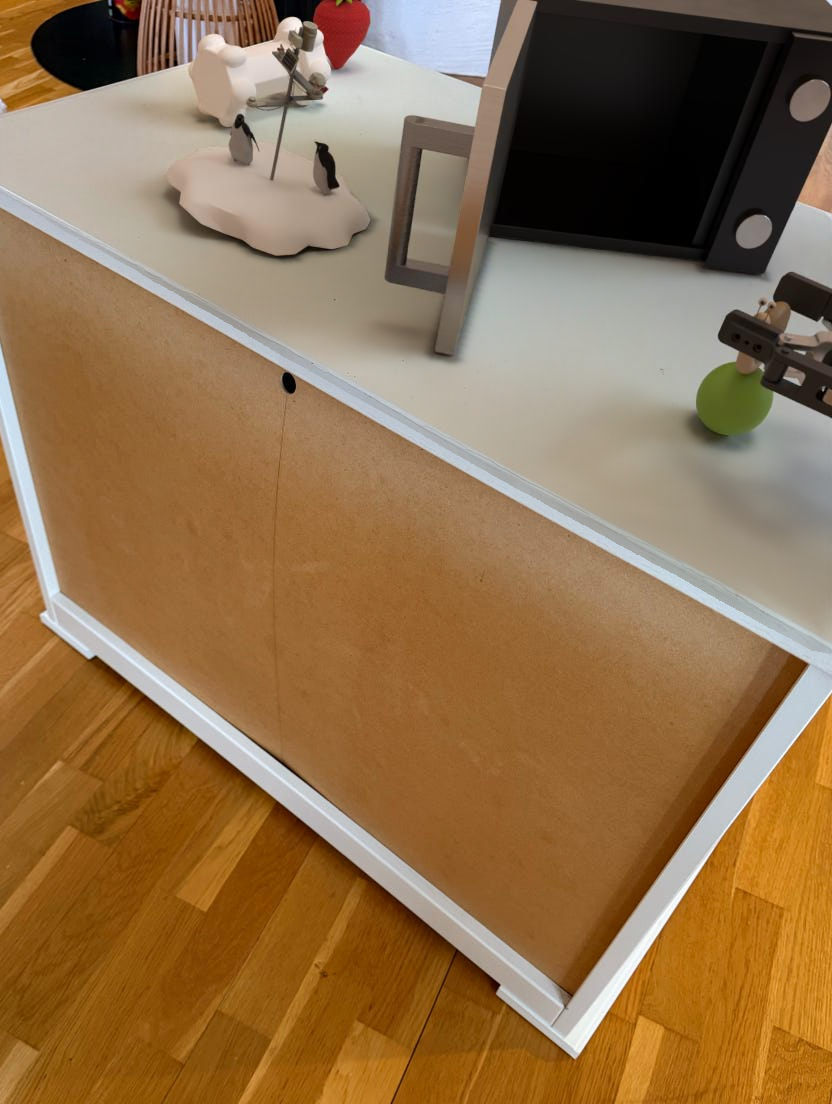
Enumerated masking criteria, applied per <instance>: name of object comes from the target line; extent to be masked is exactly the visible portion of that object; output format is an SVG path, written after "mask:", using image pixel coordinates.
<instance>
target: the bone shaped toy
mask: <svg viewBox="0 0 832 1104" xmlns="http://www.w3.org/2000/svg"><path fill="white" fill-rule="evenodd" d="M300 27H303V22H302V21H301V19H300V18H298V17H295V16H290V17H286V18H284V19H283V20H282V21H280V22H279V24H278V26H277V28H276V33H275V36H274V38H273V40H272V41H271V42H269V43H266V44H261V45H256V46H253V47H249V48H242V47H241V46H239V45H231V44H229V43H226V41H225V39H224V37H223V36H222V35H220V34H217V33H209V34H207V35H205V36H203V37H202V38H201V39H200V40H199V42H198V45H197V53H196V55H195V58H194V59H193V60H192V61H191V62H190V63H189V65H188V67H187V69H188V70H187V72H188V73H187V74H188V77H189V79H190V80H191V82H192V85H193V88H194V91H195V94H196V98H197V101H198V103H197V107H198V110H199V111H200V112H201V113H202V114H203V115H205V116H212V117H215V118H217V119H218V121H219V123H220V125H221V126H223V127H226V128H232V125H233V123H234V122H235V119H236V116H237V115H238V114H242V115H243V116H244V118H245V116H246V112H247V109H248V107H249V106H248V105H247V104H246V102H247V99H249V97H254V98H255V99H256V100H257V99H260V98H264V97H268V96H271V95H272V96H273V95H275V94H281V95H286V94H287V90H288V85H289V79H290V77H289V76H290V74H289V76H288V72H287V71H286V69H285V68H284V67H283V66H282V65H281V63H280V62H279V61H278V60H277V59H276V58H275V56H274V55H273V54H272V51H277V48H282V47H283V48H284V49H285V50H284V51H285V52H286V50H287V49H288V47H289V48H290V49H291V50H293V49H292V47H294V48H295V49H296V47H295V46H294V45H291V44H292V43H291V42H290V41H289V40H288V35H289V30H294V31H295V29H296V31H295V32H296V33H297V34H299V29H300ZM323 40H324V37H323V34H322V32H321V31H320V30H318V29H317V36H316V39H315V44H314V49H313V51H312V52H306V51H303V50H301V49H299V51H300V53H299V55H298V58H299V61H298V63H297V67H296V69H297V71H298V72H299V73H300V74H301V75H302V76H303V77H304V78H305V79H306V80H307V81H309V77H310V76H311V75H312V73H315V72H318V73H321V74H322V75H324V77H325V80H326V83H327V82H328V81H329V80H330V78H331V75H332V69H331V65H330V63H329V61H328V57H327V56H326V54H325V50H324V46H323V43H322V42H323ZM289 43H291V44H289ZM281 44H282V47H280V45H281ZM290 45H291V46H292V47H291V46H290ZM294 52H295V51H293V53H294ZM288 78H289V79H288ZM293 81H294V82H295V83H296V84H297V85H296V84H295V83H294V82H293V83H294V84H292V93H293V94H294V95H293V94H292V93H291V95H290V96H292V95H293V96H305V95H307V94H306V93H305V92H306V90H305V89H304V88H303V87H302V86H301V85H300V84H299V83H298V82H297V81H295V80H294V79H293ZM294 85H295V87H294ZM300 88H301V89H302V90H303V91H302V90H301V89H300ZM293 89H294V90H293ZM293 91H294V92H293ZM304 91H305V92H304ZM315 101H316V100H308V101H295V103H296V104H297V105H299V106H308V105H311V104H313V103H314V102H315Z"/></svg>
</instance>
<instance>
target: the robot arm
mask: <svg viewBox="0 0 832 1104" xmlns="http://www.w3.org/2000/svg"><path fill="white" fill-rule="evenodd" d="M772 300H773V301H772V302H775V303H776V302H786V303H787V304H788V305H789V306H790V308H791V312H795V313H796V314H798V315H801V316H803V317H805V318H807V319H810V320H812V321H814V322H816V323H818V322H819V321H820V320H821V323H822V325H823V326H824V327H825V329H826V330H820V331H817V332H815V334H813V335H802V334H797V333H788V332H784V333H782V332H783V330H781V329H779V328H777V327H775V326H773V325H771V324H768V323H766V322H764V321H762V320H760V319H758V318H756V317H753V316H754V315H751V314H749V313H747V312H745V311H743V310H740V309H736V308H735V309H733V310H731V311H729V312H728V313H727V314H726V315H725V317H724V319H723V322H722V323H721V325H720V329H719V330H718V333H717V339H718V341H719V343H721V344H723V345H725V346H727V347H730V348H732V349H734V350H735V351H738V352H739V351H740V352H742V353H744V354H746V355H748V356H750V357H752V358H754V359H756V360H758V361H760V362H762V365H764V366H763V371H764V374H763V376H762V378H761V380H760V384H761V385H762V386H763V387H765V388H767V389H769V390H771V391H773V393H776V394H778V395H780V396H782V397H785V398H787V399H789V400H790V401H792V402H795V403H798V404H800V405H802V406H804V407H806V408H809V409H810V410H813V411H815V412H817V413H819V414H821V415H824V416H826V417H828V418H830V419H832V288H831V287H829V286H827V285H824V284H822V283H820V282H818V281H815V280H813V279H811V278H809V277H806V276H804V275H801V274H799V273H797V272H795V271H788V272H787V273H785V274H783V275H782V276H781V277H780V279H779V282H778V283H777V286H776V288H775V290H774V292H773V295H772ZM801 352H804V354H803V353H801ZM786 378H791V379H797V380H798V383H799V384H798V383H795V382H792V381H791V380H788V379H786Z"/></svg>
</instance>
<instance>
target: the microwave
mask: <svg viewBox="0 0 832 1104" xmlns="http://www.w3.org/2000/svg"><path fill="white" fill-rule="evenodd" d="M517 1H518V0H500V3H499V8H498V14H497V19H496V25H495V30H494V35H493V40H492V46H491V47H492V48H491V51H490V57H489V64H488V67H487V68H488V69H487V72H488V71H489V69H490V66H491V64H492V61H493V59H494V56H495V54H496V52H497V49H498V47H499V44H500V42H501V39H502V37H503V35H504V32H505V30H506V27H507V25H508V22H509V20H510V18H511V15H512V13H513V10H514V8H515V5H516V3H517ZM531 1H537V8H536V12H535V17H534V22H533V27H532V32H531V36H530V41H529V46H528V51H527V56H526V60H525V65H524V70H523V75H522V80H521V84H520V89H519V94H518V99H517V104H516V108H515V113H514V118H513V123H512V128H511V132H510V137H509V142H508V147H507V152H506V156H505V161H504V166H503V171H502V176H501V180H500V185H499V190H498V195H497V200H496V204H495V209H494V214H493V219H492V224H491V228H490V233H489V237H495V238H500V239H501V238H503V239H510V240H519V241H529V242H536V243H545V244H552V245H560V246H570V247H578V248H586V249H596V250H601V251H602V250H603V251H610V252H619V253H628V254H635V255H636V254H638V255H645V256H652V257H654V256H655V257H663V258H671V259H678V260H685V261H686V260H687V261H696V262H701V264H702V265H703V268H707V269H708V268H709V269H716V270H724V271H725V270H726V271H735V272H742V273H750V274H759V275H765V273H766V270H767V268H768V266H769V264H770V262H771V260H772V257H773V255H774V253H775V251H776V249H777V246H778V243H779V242H780V240H781V237H782V236H783V234H784V231H785V228H786V227H787V224H788V223H789V220H790V218H791V215H792V213H793V211H794V209H795V206H796V204H797V202H798V200H799V197H800V196H801V193H802V191H803V189H804V187H805V184H806V182H807V180H808V177H809V175H810V174H811V171H812V168H813V166H814V165H815V162H816V160H817V158H818V156H819V154H820V151H821V149H822V146H823V145H824V142H825V140H826V138H827V136H828V134H829V131H830V128H831V127H832V4H831V3H830V2H829V1H828V0H531Z"/></svg>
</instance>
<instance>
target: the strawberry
mask: <svg viewBox="0 0 832 1104" xmlns="http://www.w3.org/2000/svg"><path fill="white" fill-rule="evenodd" d="M312 20H313V22H312V23H314V24H316V25H317V26H318V28H317V29H318V30H320V31H321V32H322V34H323V37H324V40H323V42H322V43H323V46H324V50H325V54H326V58H327V60H328V61H329V62H330V64H331V66H332V67H333V68H334V69H337V70H339V69H341V68H343V67H344V66H345V64H346V63H347V61H348V60H349V59H351V57H352V56H353V55H354V54H355V53H356V51H357V50H358V48H359V47H360V46H361V45H362V43H363V42H364V41H365V39H366V37H367V34H368V31H369V28H370V26H371V12H370V9H369V8H368V6H367V5H366V4H365V3H364V2H362V1H360V0H322V1H321V2H320V3H319V4H318V5H317V6H316V8H315V11H314V15H313V19H312Z"/></svg>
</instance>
